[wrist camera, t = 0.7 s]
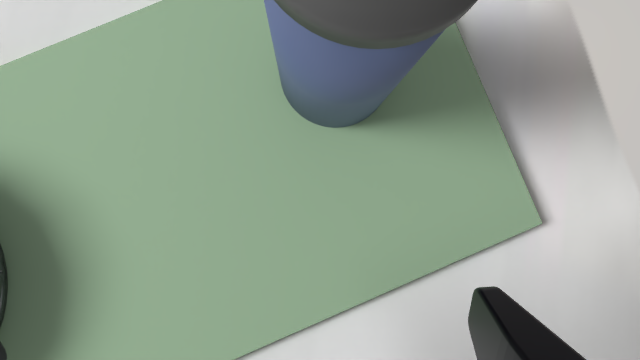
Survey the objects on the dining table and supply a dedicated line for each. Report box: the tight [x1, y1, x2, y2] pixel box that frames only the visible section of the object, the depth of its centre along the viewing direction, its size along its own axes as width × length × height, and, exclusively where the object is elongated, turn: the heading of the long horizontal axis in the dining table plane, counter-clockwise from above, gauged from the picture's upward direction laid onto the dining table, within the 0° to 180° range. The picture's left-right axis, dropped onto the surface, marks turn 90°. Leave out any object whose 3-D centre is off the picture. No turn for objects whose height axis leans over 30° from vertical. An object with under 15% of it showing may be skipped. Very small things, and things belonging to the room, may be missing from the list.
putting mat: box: [0, 0, 542, 360], centre depth 21 cm, size 16×34×1 cm, turn 113°
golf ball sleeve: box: [264, 0, 477, 128], centre depth 15 cm, size 5×5×13 cm
